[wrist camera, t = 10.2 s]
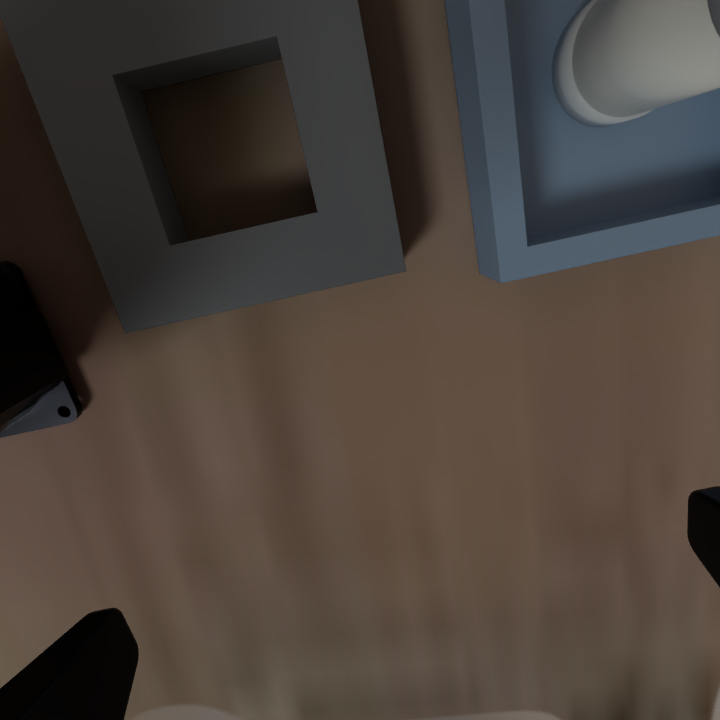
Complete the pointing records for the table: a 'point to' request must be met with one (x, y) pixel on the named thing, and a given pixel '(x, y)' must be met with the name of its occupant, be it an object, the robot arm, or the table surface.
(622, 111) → the grey rounded piece
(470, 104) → the parts tray
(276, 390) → the table surface
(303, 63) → the grey flat square frame
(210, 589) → the table surface
